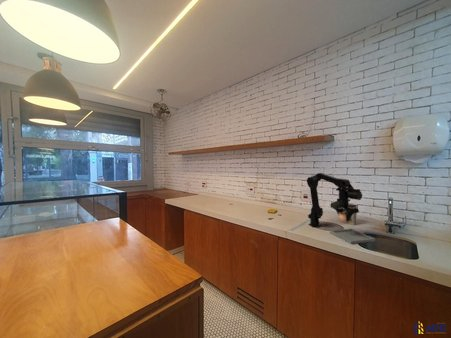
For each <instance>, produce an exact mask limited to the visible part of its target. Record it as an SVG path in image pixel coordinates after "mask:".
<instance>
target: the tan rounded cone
mask: <svg viewBox="0 0 451 338" xmlns="http://www.w3.org/2000/svg"><path fill="white" fill-rule="evenodd" d="M337 216H338V219H337V221H338V222H339V223H342V224H346V223H349V221H348V222H347V221H346V213H345V212H338V214H337Z"/></svg>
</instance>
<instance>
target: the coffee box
mask: <svg viewBox="0 0 451 338" xmlns="http://www.w3.org/2000/svg"><path fill="white" fill-rule="evenodd" d="M349 205H350V207H354V208H358V205H357V204H352V203H349ZM343 212H346V210H345V209H343ZM357 214H358V213H354V214H353V215H352V216H351V218H350V219H349V223H345V224H346V225H350V226H354V225H355V226H356V224H357Z"/></svg>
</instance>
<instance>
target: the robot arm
mask: <svg viewBox="0 0 451 338" xmlns="http://www.w3.org/2000/svg"><path fill="white" fill-rule="evenodd" d="M321 180H323V181H326V182H328V183H330V184H331V183H332V184H334V186H336V187H337V188H336V189H335V191H337V192H338V198H336V201H334V202H331V203H330V208H331V209H333V210H335V212H336V214H337V215H338V212H343V209H345V210H346V212H345V213H346V221H347V222H348V221H349V219H350V218H351V216H352V215H353V214H354V213H357V214H358V213H360V211H359V208H358V207H357V208H354V207H350V205H349V204H350V203H349V202H351V200H358V201H361V200H362V199H363V192H362V191H361V189H360V188H359V189H358V188H357V189H356V188H354V186H352V184H351V181H350V180H349V179H347V178H340V177H339V178H338V177H334V176H332V175H330V174H329V175H328V174H325V173H323V172H318V173H317V174H314V175H312V176H310V177H309V176H308V177H307V179H306V183H307V184H306V185H307V186H308V188H309V189H310V190H309V191H310V198H311V199H310V200H311V209H310V213H309V214H307V218H308V219H309V221H310V223H308V225H309V226H310V227H312V228H320V227H321V225H320V219H321V218H322V216H323V214H324V211H323V207H321V206H320V203H319V194H318V186H319V182H320V181H321Z"/></svg>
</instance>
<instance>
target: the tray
mask: <svg viewBox="0 0 451 338" xmlns="http://www.w3.org/2000/svg"><path fill="white" fill-rule="evenodd" d="M329 234H331V235H333V236H334V237H336V238H339V239H340V238H341V240H342V239H343V240H342V241H344V240H345V241H344V242H346V243H347V244H350V245H357V244H369V243H375V242H376V238H374V237H372V236H370V235H367V234H365V233H363V232H360V231H358V230H355V229H353V228H345V229H334V230H333V229H332V230H329Z"/></svg>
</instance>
